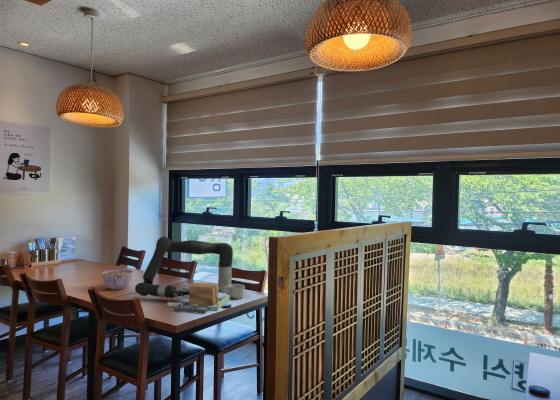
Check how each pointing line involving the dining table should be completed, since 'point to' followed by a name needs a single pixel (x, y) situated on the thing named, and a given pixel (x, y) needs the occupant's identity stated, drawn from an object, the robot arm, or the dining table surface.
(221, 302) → the lane
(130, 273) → the bowl of food
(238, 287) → the teacup
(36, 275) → the dining table surface
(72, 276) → the dining table surface
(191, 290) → the block
